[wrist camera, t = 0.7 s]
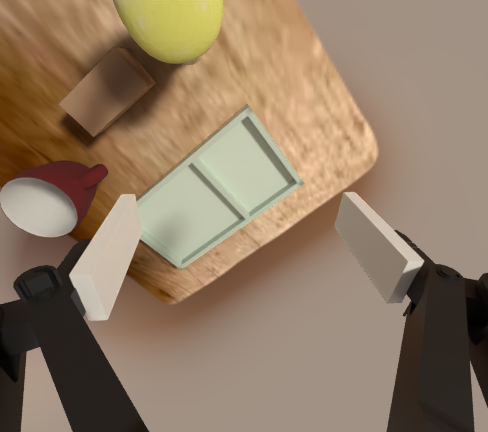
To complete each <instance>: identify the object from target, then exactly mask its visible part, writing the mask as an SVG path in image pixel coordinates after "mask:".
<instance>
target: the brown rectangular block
mask: <svg viewBox="0 0 488 432" xmlns="http://www.w3.org/2000/svg"><path fill="white" fill-rule="evenodd" d="M155 84H156V82H155V81H154V80H153V79H152V77H151V76H150V75H149V74H148V73H147V71H146V70H145V69H144V68H143V67H142V65H141V64H140V63H139V62H138V61H137V59H136V58H135V57H134V56H133V55H132V53H131V52H130V51H129V50H128V49H126V48H117V47H113V48H112V49H111V50H110V51H109V52H108V53H107V54H106V55H105V57H104V58H103V59H102V60H101V61H100V62H99V63H98V64H97V65H96V66H95V67H94V68H93V69H92V70H91V71H90V72H89V73H88V74H87V75H86V76H85V77H84V78H83V79H82V81H81V82H80V83H79V84H78V85H77V86H76V87H75V88H74V89H73V90H72V91H71V92H70V93H69V94H68V95H67V96H66V97H65V98H64V99H63V100H62V101H61V102H60V104H59V105H60V106H61V107H62V108H63V109H64V110H65V111H66V112H67V113H68V114H69V115H71V116H72V117H73V118H74V119H75V120H76V121H77V122H78V123H79V124H80V125H81V126H82V127H83V128H85V129H86V130H87V131H88V132H89V133H90V134H91V135H92V136H93V137H94V136H96V135H98V134H99V133H101V132H102V131H104V130H106V129H107V128H109V127H110V126H111V125H112V124H113V123H114V122H115V121H116V120H117V119H118V118H119V117H120V116H121V115H123V114H124V113H125V112H126V111H127V110H128V109H129V108H130V107H131V106H132V105H133V104H134V103H135V102H136V101H137V100H139V99H140V98H141V97H142V96H143V95H144V94H145V93H146V92H147V91H148V90H149V89H150V88H151V87H152V86H153V85H155Z"/></svg>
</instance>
